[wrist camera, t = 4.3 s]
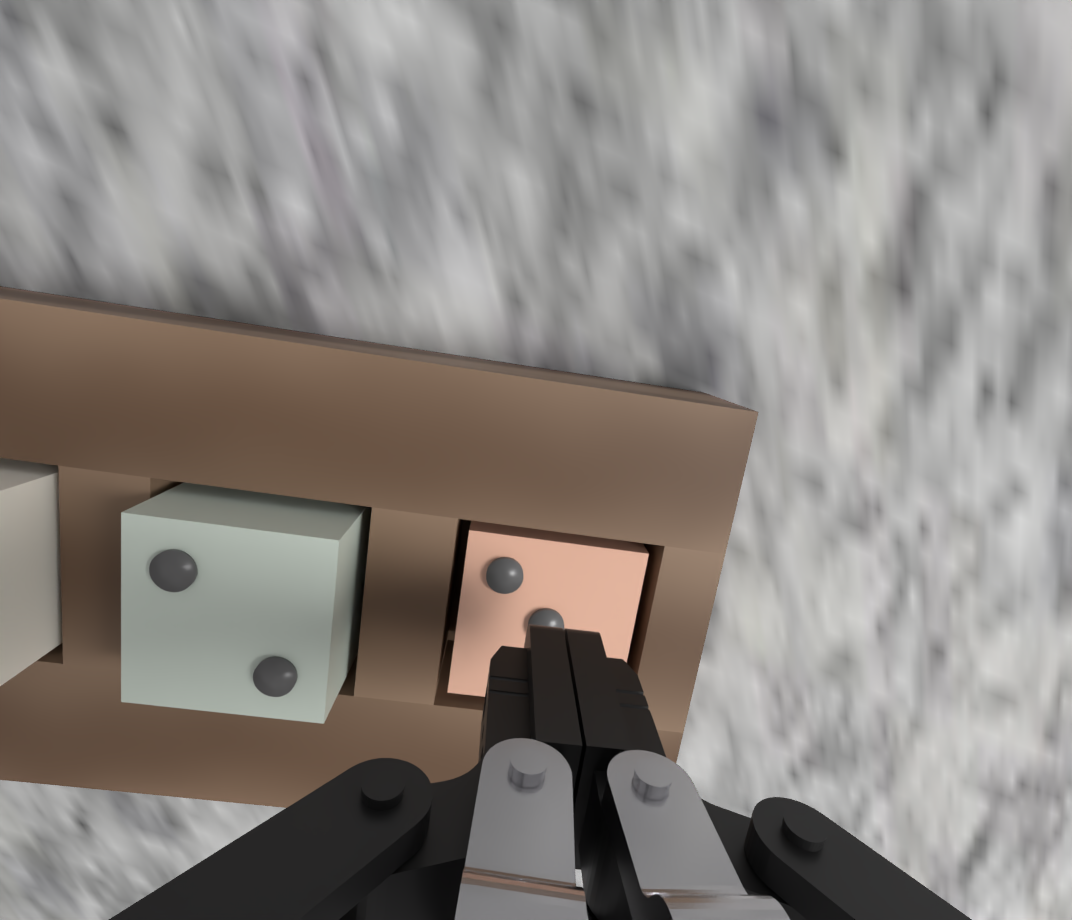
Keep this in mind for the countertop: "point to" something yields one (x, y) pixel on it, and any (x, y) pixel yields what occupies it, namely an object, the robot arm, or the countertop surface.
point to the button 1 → (28, 564)
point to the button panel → (351, 478)
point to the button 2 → (241, 601)
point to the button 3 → (541, 593)
